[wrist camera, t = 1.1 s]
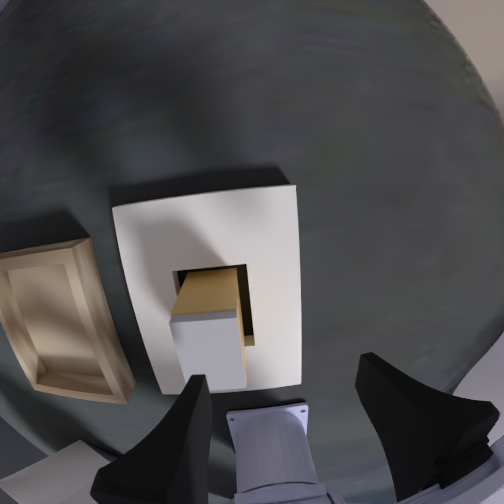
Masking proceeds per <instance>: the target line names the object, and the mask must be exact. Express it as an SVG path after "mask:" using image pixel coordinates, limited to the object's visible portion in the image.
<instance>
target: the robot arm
mask: <svg viewBox="0 0 504 504" xmlns="http://www.w3.org/2000/svg"><path fill="white" fill-rule="evenodd" d="M355 387H356V390H357V393H358V396H359V398H360V401H361V403H362V405H363V407H364V409H365V411H366V413H367V415H368V417H369V419H370V420H371V422H372V424H373V426H374V428H375V430H376V432H377V434H378V436H379V438H380V440H381V443H382V446H383V448H384V451H385V454H386V457H387V460H388V464H389V467H390V471H391V474H392V478H393V482H394V487H395V492H396V498H397V503H395V504H484V503H485V502H486V501H487V500H489V499H490V498H491V497H492V496H494V495H495V494H496V493H497V492H499V491H500V490H501V489H502V488H503V487H504V436H502V437H501V438H500V439H499V440H497V441H496V442H495V443H494V444H492V445H491V446H490V447H489V446H488V444H487V443H488V442H489V439H488V437H487V435H488V433H489V432H490V431H491V429H492V428H493V426H494V425H495V423H496V422H497V420H498V418H499V415H500V412H499V411H498V410H497V408H496V407H495V406H494V405H493V404H492V403H491V402H490V401H479V400H471V399H466V398H461V397H457V396H453V395H450V394H447V393H444V392H441V391H438V390H436V389H433V388H431V387H429V386H426V385H424V384H422V383H420V382H418V381H417V380H415V379H413V378H411V377H409V376H408V375H406V374H404V373H403V372H401V371H400V370H398V369H397V368H395V367H393V366H392V365H391V364H389V363H388V362H386V361H385V360H383V359H382V358H380V357H379V356H377V355H376V354H374V353H373V352H370V353H366V354H361V355H360V361H359V367H358V372H357V377H356V382H355ZM226 417H227V421H228V425H229V429H230V433H231V437H232V440H233V444H234V448H235V452H236V480H237V494H234V503H227V504H346V502H345V501H344V499H343V498H342V497H341V496H340V495H339V494H337V493H336V492H334V491H328V492H326V489H325V485H324V483H322V484H319V483H318V480H317V476H316V472H315V468H314V464H313V461H312V457H311V453H310V449H309V445H308V442H307V438H306V433H307V419H308V404H307V403H305V402H304V403H297V404H291V405H284V406H277V407H269V408H260V409H250V410H239V411H229V412H227V413H226ZM212 423H213V404H212V400H211V396H210V392H209V387H208V383H207V379H206V374H195V375H191V376H190V378H189V380H188V382H187V384H186V385H185V387H184V389H183V390H182V392H181V394H180V395H179V397H178V398H177V400H176V401H175V403H174V404H173V406H172V407H171V409H170V410H169V411H168V412H167V414H166V415H165V416H164V418H163V419H162V420H161V421H160V423H159V424H158V425H157V426H156V427H155V428H154V429H153V430H152V431H151V432H150V433H149V434H148V435H147V436H146V437H145V438H144V439H143V440H142V441H141V442H140V443H138V444H137V445H136V446H135V447H133V448H132V449H131V450H129V451H128V452H127V453H125V454H124V455H122V456H121V457H119V458H118V459H116V460H114V461H113V462H111V463H109V464H107V465H105V466H103V467H101V468H99V469H98V471H97V473H96V475H95V478H94V481H93V484H92V487H91V490H90V495H91V497H92V498H93V499H94V500H95V501H96V502H97V503H98V504H208V480H207V467H208V456H209V448H210V440H211V431H212Z"/></svg>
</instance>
